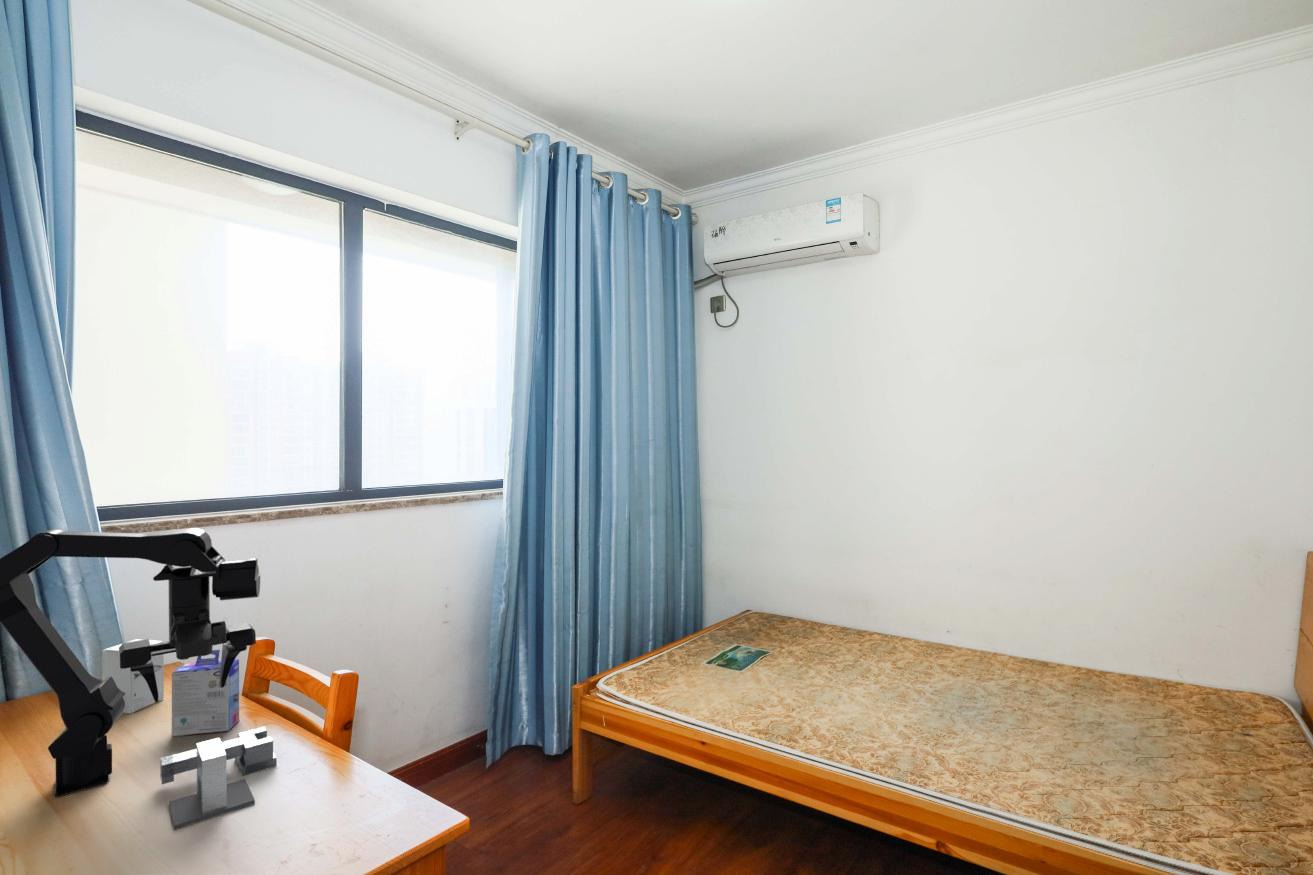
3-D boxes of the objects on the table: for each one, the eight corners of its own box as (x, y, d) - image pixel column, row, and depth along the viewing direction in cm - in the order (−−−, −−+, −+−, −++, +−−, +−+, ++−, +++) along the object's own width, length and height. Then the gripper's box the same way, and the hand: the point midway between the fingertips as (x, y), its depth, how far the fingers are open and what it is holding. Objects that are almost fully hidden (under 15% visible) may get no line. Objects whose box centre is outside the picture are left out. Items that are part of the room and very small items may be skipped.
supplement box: (130, 714, 132) (130, 651, 131) (100, 711, 133) (100, 649, 133) (165, 699, 139) (164, 640, 139) (136, 696, 140) (136, 637, 140)
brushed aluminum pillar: (202, 814, 97) (202, 760, 97) (196, 794, 102) (196, 743, 102) (226, 806, 99) (226, 754, 99) (219, 787, 104) (219, 737, 104)
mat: (174, 829, 94) (174, 825, 94) (168, 805, 100) (168, 801, 100) (254, 803, 101) (254, 799, 101) (245, 782, 107) (245, 778, 107)
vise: (163, 799, 102) (163, 770, 102) (159, 780, 107) (159, 753, 107) (276, 765, 112) (276, 739, 112) (267, 750, 117) (267, 725, 117)
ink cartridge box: (241, 719, 130) (240, 646, 130) (230, 731, 125) (230, 655, 124) (183, 724, 127) (183, 650, 127) (170, 737, 122) (169, 659, 122)
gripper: (121, 624, 100) (122, 726, 100) (261, 603, 112) (262, 693, 113) (118, 609, 109) (119, 702, 109) (249, 590, 121) (249, 675, 121)
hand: (190, 693), depth 113 cm, fingers open, 9 cm apart
